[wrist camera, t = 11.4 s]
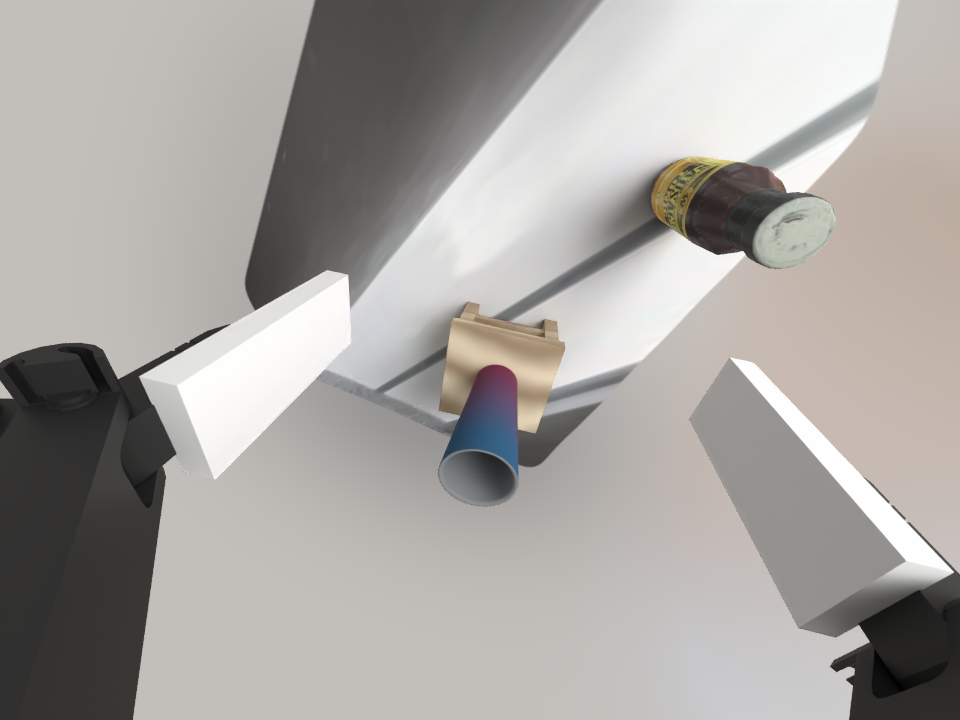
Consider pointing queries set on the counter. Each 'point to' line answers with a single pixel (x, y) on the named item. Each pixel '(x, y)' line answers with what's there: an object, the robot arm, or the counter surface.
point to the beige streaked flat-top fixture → (501, 361)
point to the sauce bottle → (741, 211)
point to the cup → (485, 442)
